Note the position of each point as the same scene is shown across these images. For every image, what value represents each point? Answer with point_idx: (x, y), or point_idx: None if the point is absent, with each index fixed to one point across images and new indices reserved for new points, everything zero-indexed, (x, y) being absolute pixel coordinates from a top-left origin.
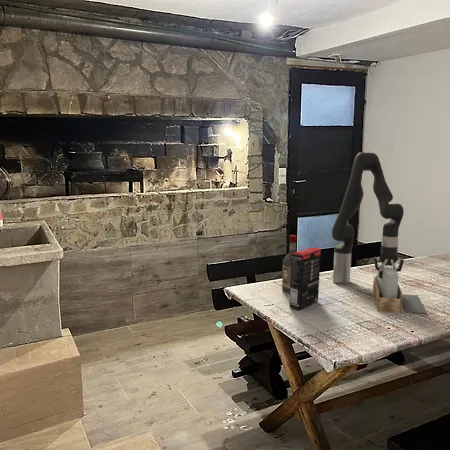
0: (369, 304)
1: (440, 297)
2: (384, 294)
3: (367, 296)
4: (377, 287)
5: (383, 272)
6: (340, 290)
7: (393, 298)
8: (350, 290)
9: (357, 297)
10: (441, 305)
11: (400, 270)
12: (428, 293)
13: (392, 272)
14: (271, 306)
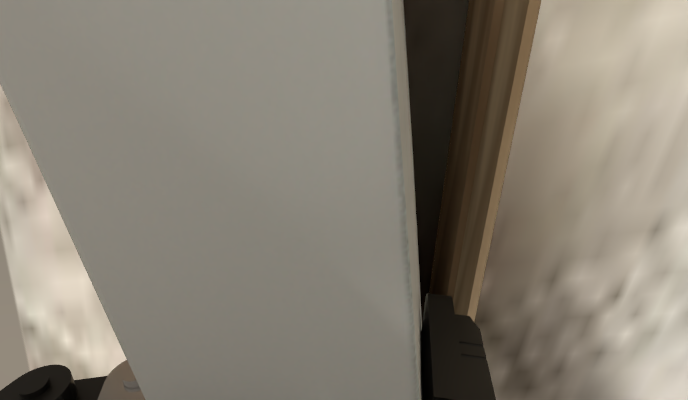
0: (529, 94)
1: (38, 296)
2: (407, 67)
3: (491, 281)
4: (518, 96)
5: (418, 340)
6: (677, 384)
7: None
8: (591, 384)
9: (586, 253)
10: (8, 162)
11: (28, 380)
12: (103, 350)
13: (148, 80)
14: None
